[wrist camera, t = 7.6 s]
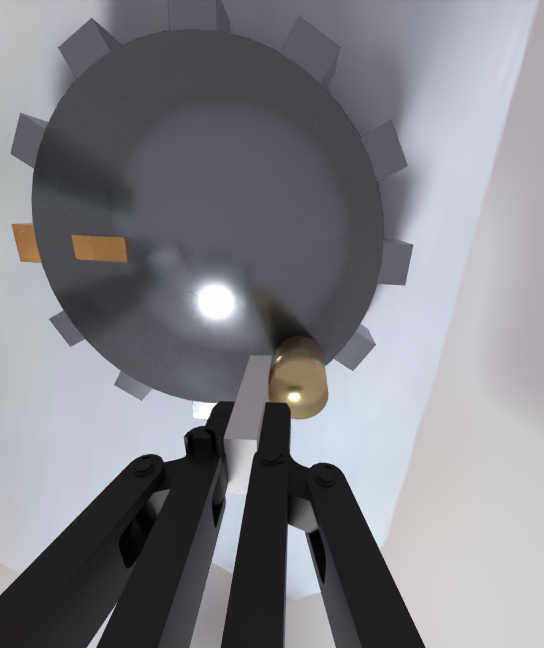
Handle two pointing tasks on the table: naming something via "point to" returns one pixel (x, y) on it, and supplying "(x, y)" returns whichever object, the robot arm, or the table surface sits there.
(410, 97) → the table surface
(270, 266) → the sprocket wheel
